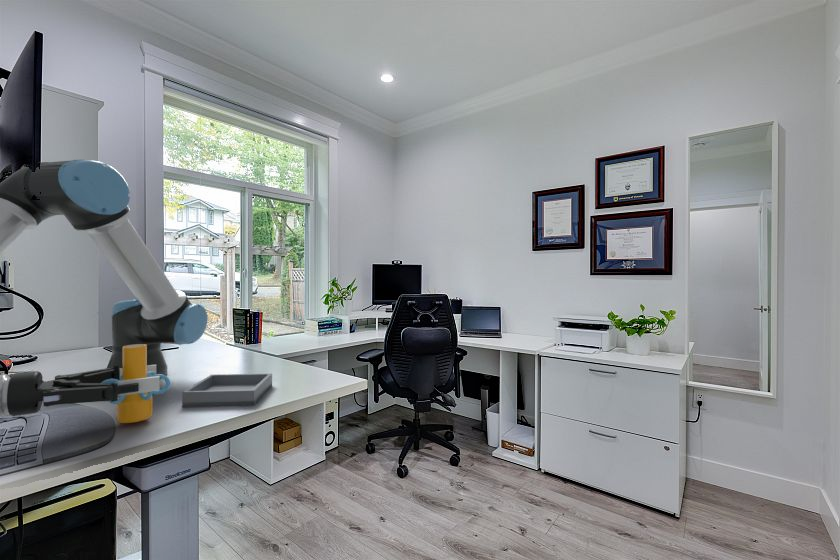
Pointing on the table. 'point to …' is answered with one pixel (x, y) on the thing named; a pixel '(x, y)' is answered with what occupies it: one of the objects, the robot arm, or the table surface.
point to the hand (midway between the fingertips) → (157, 376)
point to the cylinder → (140, 403)
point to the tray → (227, 390)
